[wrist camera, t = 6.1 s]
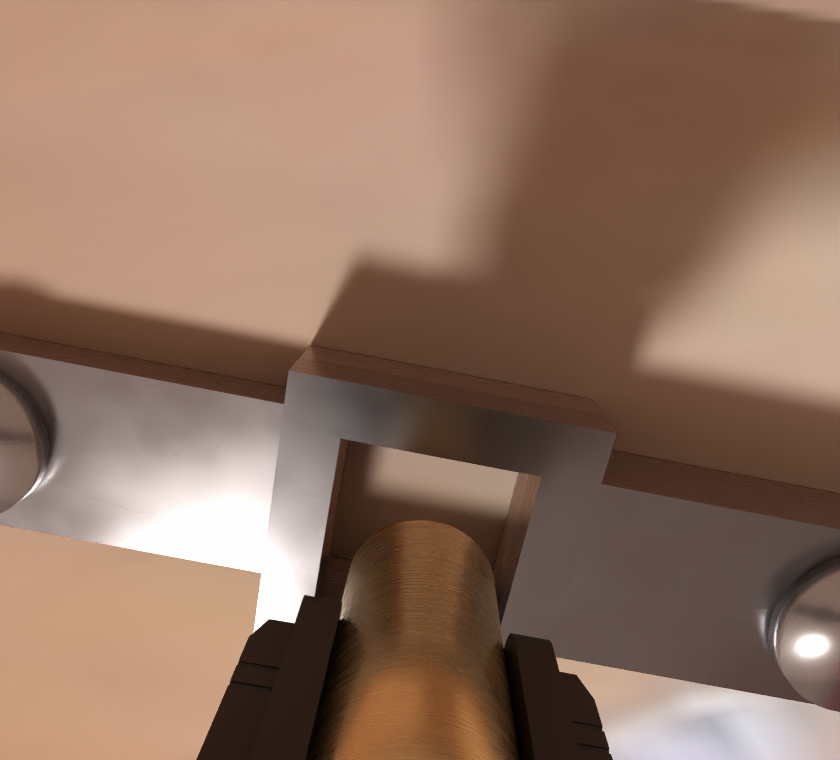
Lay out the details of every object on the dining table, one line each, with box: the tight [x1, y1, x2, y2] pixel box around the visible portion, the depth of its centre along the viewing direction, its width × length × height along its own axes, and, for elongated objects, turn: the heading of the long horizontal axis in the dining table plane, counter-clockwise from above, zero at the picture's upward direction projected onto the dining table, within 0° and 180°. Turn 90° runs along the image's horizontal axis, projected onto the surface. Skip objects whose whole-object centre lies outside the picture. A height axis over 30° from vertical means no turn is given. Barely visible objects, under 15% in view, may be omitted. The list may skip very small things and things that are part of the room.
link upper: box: [254, 357, 840, 712], centre depth 16 cm, size 18×8×3 cm, turn 79°
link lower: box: [0, 333, 603, 597], centre depth 16 cm, size 20×8×2 cm, turn 79°
